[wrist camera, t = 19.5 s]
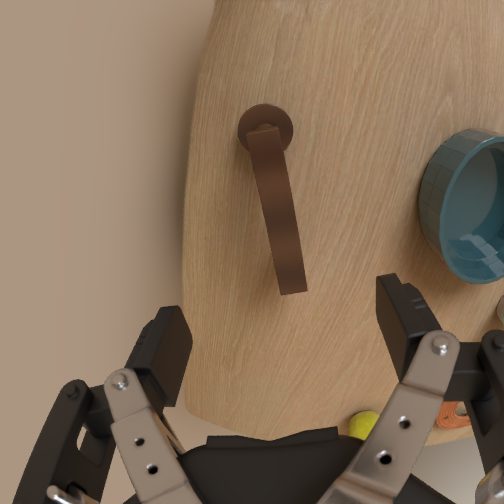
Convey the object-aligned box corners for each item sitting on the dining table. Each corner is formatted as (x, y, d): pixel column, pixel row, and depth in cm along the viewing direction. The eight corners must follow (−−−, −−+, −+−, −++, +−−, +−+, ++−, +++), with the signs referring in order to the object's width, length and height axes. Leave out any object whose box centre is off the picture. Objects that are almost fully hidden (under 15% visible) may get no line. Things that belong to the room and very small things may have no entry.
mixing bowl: (411, 130, 28) (437, 138, 23) (519, 128, 25) (549, 137, 20) (415, 270, 36) (433, 297, 30) (511, 248, 33) (534, 269, 28)
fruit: (385, 401, 48) (398, 456, 37) (376, 420, 51) (386, 472, 40) (349, 405, 48) (358, 463, 38) (342, 424, 52) (349, 477, 41)
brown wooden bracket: (235, 109, 29) (221, 112, 21) (285, 99, 28) (290, 98, 20) (268, 251, 36) (266, 297, 28) (311, 244, 35) (322, 289, 27)
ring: (543, 327, 39) (549, 335, 37) (505, 402, 51) (509, 408, 48) (450, 361, 43) (455, 371, 41) (421, 432, 54) (424, 440, 52)
